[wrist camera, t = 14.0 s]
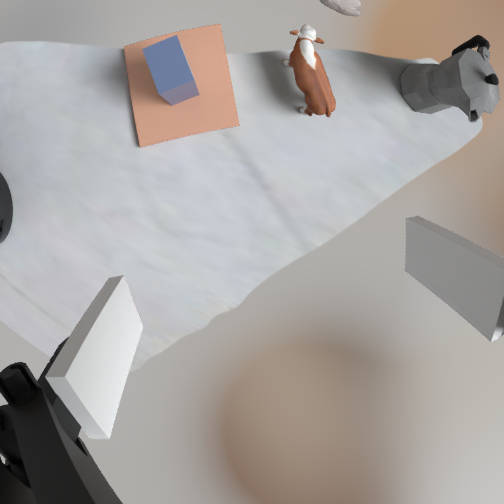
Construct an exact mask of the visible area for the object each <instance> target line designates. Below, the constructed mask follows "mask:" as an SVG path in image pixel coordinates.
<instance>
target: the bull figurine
mask: <svg viewBox="0 0 504 504" xmlns="http://www.w3.org/2000/svg"><path fill="white" fill-rule="evenodd" d="M290 34H293V35H298V36H299V37H298V39H297V41H296V44H295V46H294V50H293V51H292V52H291V54H290V60H287V59H284V60H283V64H284V65H285V66H286V67H287V66H288V67H290V66H292V67H293V68H294V74H295V80H296V84H297V86H298V88H299V89H300V90H301V91H302V92H303V93H304V94H305V101H306V104H307V109H306V108H305V107H300V112H301V113H303V114H304V115H309V116H312V113H314V114H316V115H323V114H325V113H326V116H327V117H330V115H331V112H333V111H334V110H335V103H336V102H335V98H334V96H333V93H332V90H331V86H330V83H329V80H328V77H327V75H326V72H325V69H324V67H323V64H322V61H321V59H320V57H319V55H318V54H317V53H316V51H315V49H314V46H313V44H312V41H315V42H317V43H321V44H323V43H324V41H323V40H322V39H320V38H317V37H316V31H315V30H314V29H313V28H312V27H311V26H310V25H307V24H304V25H303V26H302V28H301V30H300V31H297V30H294V31H291V32H290Z"/></svg>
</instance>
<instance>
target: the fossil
mask: <svg viewBox="0 0 504 504" xmlns="http://www.w3.org/2000/svg"><path fill="white" fill-rule="evenodd" d="M320 1H321V3H323V4H324V5H326V6H327V7H329V8H331V9H333V10H335V11H337V12H339V13H342V14H344V15H348V16H360V14H361V13H362V12H361V11H360V10H358V7H359V6H361V2H360V0H320Z"/></svg>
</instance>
